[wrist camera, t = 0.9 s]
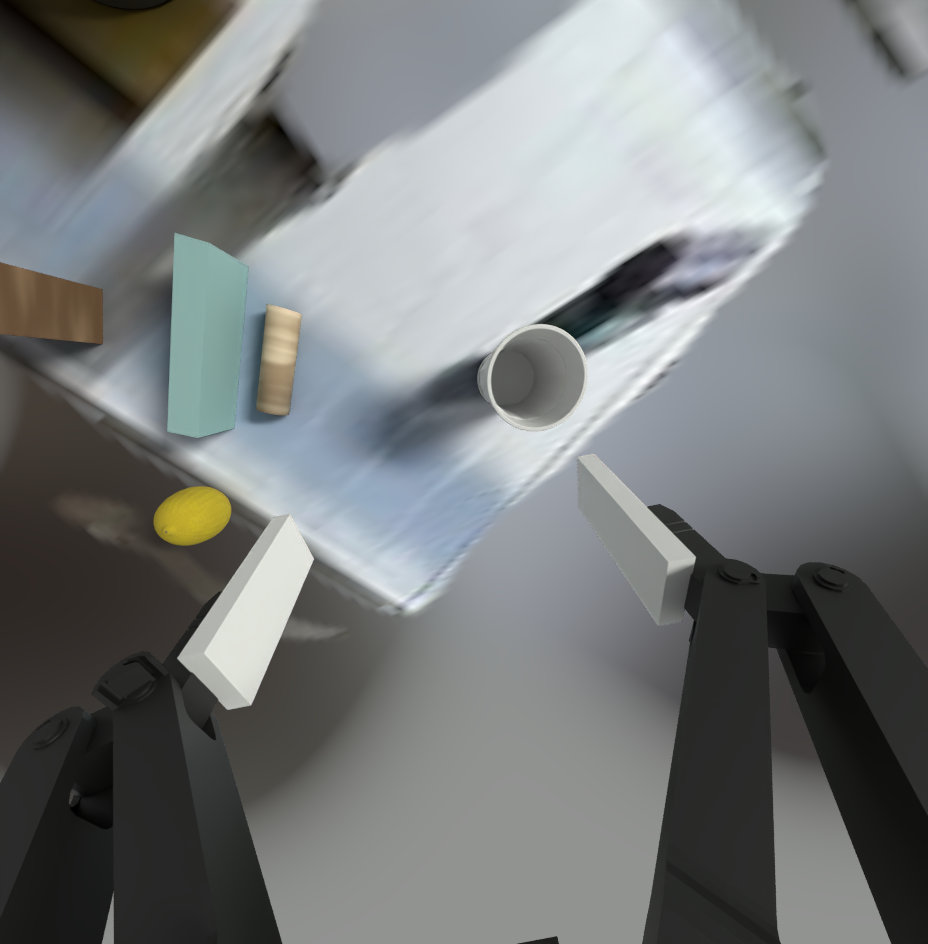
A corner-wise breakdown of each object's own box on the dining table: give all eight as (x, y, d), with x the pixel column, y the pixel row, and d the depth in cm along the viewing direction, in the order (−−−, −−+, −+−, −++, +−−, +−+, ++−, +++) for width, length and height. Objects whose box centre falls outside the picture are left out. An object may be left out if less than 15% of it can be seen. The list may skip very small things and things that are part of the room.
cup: (492, 428, 39) (518, 449, 28) (456, 366, 37) (467, 361, 25) (552, 390, 39) (604, 396, 27) (519, 325, 36) (560, 302, 25)
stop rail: (209, 422, 36) (167, 431, 30) (220, 258, 32) (174, 232, 26) (234, 428, 36) (197, 438, 31) (248, 266, 33) (209, 243, 27)
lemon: (210, 467, 37) (153, 491, 30) (255, 498, 39) (211, 528, 31) (182, 503, 38) (119, 536, 30) (227, 532, 39) (178, 570, 32)
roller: (289, 411, 37) (288, 416, 34) (258, 406, 36) (254, 411, 33) (302, 315, 35) (301, 313, 32) (268, 306, 33) (264, 302, 31)
